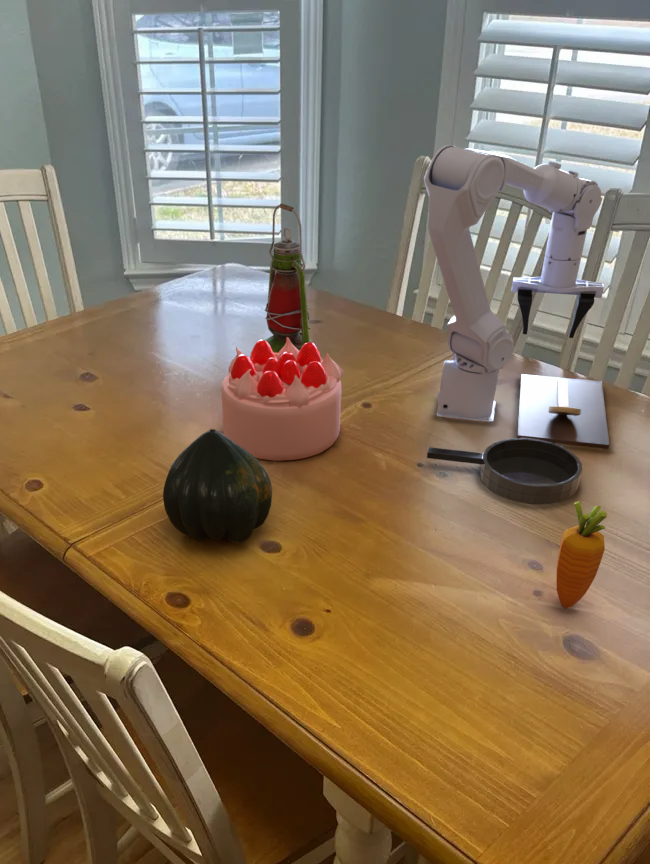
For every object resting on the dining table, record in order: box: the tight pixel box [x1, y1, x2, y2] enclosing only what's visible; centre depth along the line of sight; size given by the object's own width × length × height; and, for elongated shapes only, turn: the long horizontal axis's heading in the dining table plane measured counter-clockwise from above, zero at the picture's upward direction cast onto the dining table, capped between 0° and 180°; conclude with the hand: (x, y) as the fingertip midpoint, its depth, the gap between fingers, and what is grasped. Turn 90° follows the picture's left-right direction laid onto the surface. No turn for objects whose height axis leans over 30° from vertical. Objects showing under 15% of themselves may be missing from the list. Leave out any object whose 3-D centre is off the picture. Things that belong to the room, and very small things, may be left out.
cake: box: [220, 337, 344, 462], centre depth 135 cm, size 20×20×14 cm
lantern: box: [264, 203, 314, 353], centre depth 152 cm, size 14×11×30 cm
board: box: [516, 373, 610, 450], centre depth 141 cm, size 14×24×1 cm, turn 163°
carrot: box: [556, 501, 608, 609], centre depth 96 cm, size 5×5×15 cm
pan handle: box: [426, 446, 484, 465], centre depth 125 cm, size 8×2×1 cm, turn 73°
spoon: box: [548, 379, 581, 416], centre depth 140 cm, size 15×5×7 cm, turn 164°
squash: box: [162, 428, 273, 543], centre depth 114 cm, size 14×15×15 cm
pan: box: [479, 437, 583, 505], centre depth 123 cm, size 14×14×4 cm
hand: (547, 334), depth 143 cm, fingers open, 7 cm apart
